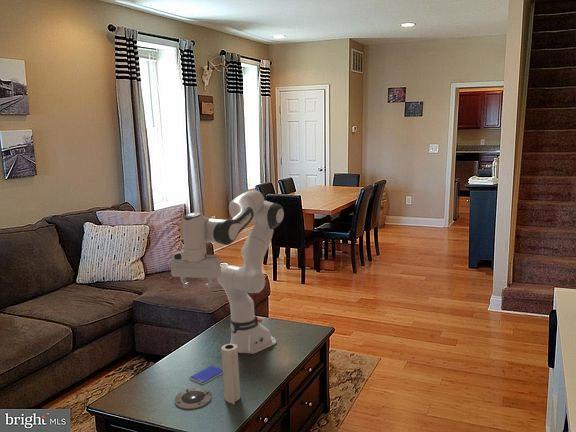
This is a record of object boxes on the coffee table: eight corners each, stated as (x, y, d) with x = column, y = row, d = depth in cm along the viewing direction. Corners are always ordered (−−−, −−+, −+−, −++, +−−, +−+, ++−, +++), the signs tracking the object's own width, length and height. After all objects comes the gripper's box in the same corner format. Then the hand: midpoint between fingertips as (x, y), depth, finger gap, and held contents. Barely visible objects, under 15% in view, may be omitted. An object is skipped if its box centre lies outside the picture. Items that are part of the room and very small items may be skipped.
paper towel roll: (229, 393, 198) (225, 342, 194) (243, 395, 196) (240, 344, 192) (220, 402, 191) (216, 350, 187) (234, 405, 189) (231, 352, 185)
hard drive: (202, 382, 205) (224, 370, 215) (189, 376, 210) (210, 365, 219) (202, 386, 205) (224, 373, 215) (189, 380, 210) (211, 368, 220)
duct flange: (202, 386, 204) (202, 383, 204) (217, 401, 192) (217, 398, 192) (169, 397, 197) (169, 394, 196) (183, 413, 185) (182, 410, 185)
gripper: (222, 252, 199) (224, 286, 202) (175, 251, 204) (177, 284, 206) (217, 256, 193) (218, 291, 196) (168, 255, 198) (170, 289, 200)
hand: (197, 287), depth 201 cm, fingers open, 8 cm apart
